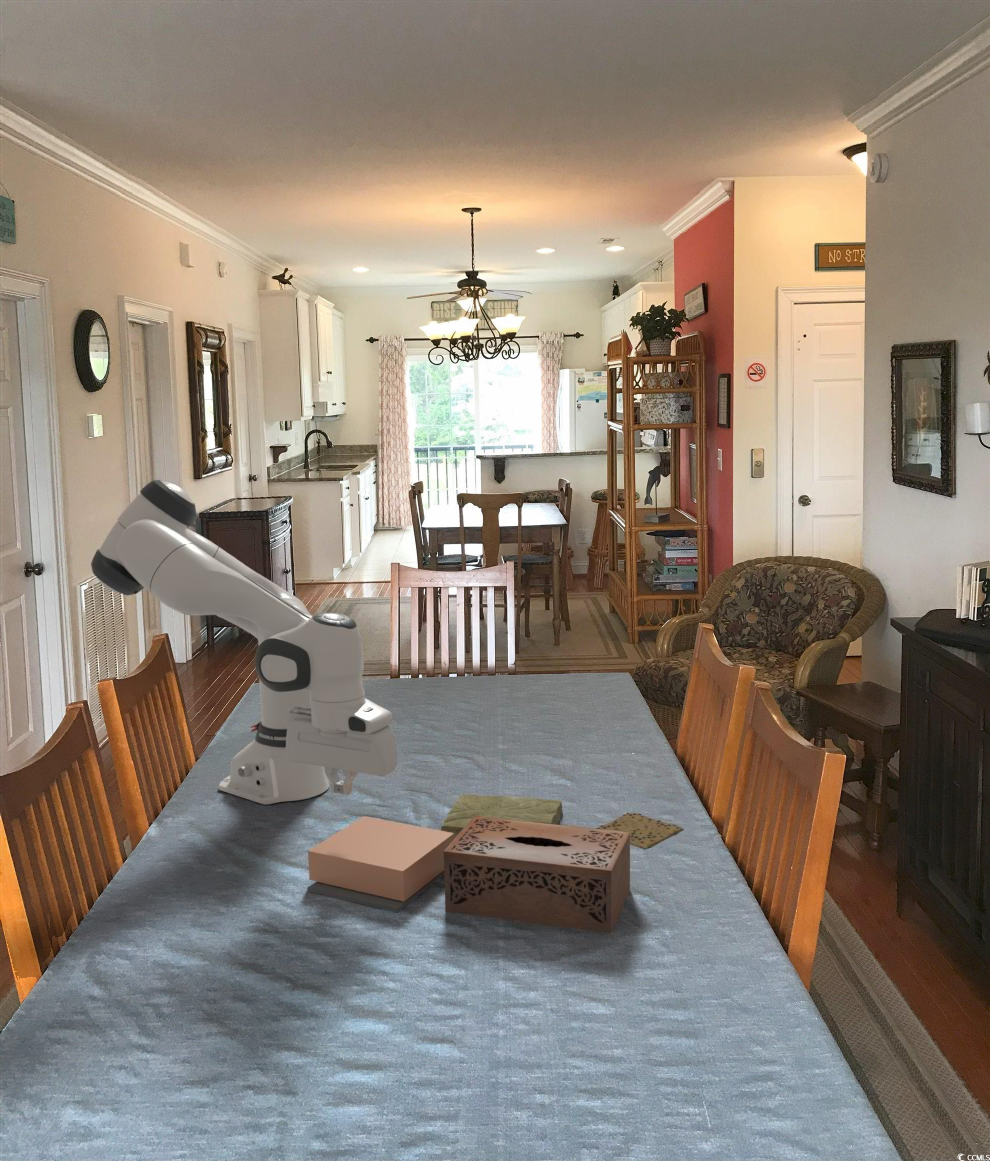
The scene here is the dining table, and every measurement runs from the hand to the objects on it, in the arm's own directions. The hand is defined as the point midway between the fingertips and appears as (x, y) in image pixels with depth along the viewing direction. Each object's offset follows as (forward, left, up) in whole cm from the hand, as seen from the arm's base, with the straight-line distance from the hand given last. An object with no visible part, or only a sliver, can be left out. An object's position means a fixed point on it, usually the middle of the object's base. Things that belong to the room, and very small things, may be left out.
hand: (342, 793), depth 180 cm
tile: (-1, 0, -10) cm, 10 cm away
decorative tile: (+16, +26, -14) cm, 34 cm away
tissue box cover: (+35, +3, -14) cm, 37 cm away
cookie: (+39, +35, -14) cm, 54 cm away
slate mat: (+8, 0, -13) cm, 15 cm away
